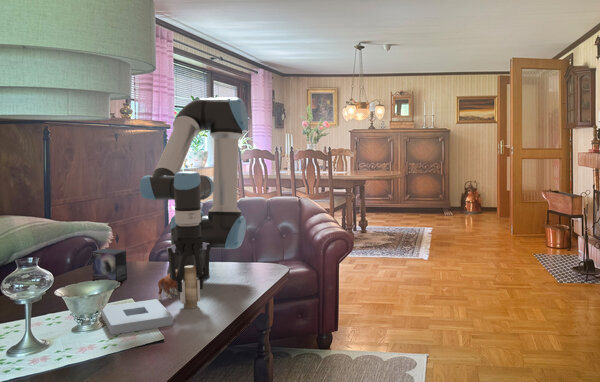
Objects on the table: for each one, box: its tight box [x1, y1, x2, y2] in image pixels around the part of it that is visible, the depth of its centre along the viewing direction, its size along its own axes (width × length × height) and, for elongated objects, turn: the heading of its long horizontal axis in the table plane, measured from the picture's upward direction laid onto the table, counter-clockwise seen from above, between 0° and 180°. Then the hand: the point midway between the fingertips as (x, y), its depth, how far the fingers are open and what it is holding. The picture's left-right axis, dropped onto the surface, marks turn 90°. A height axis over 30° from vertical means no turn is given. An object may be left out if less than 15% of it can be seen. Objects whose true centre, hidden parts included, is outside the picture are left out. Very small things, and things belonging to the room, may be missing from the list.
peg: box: [183, 266, 198, 309], centre depth 170 cm, size 4×4×12 cm
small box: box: [91, 247, 128, 282], centre depth 203 cm, size 11×6×10 cm, turn 68°
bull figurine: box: [157, 269, 179, 301], centre depth 182 cm, size 4×13×8 cm, turn 161°
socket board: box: [100, 298, 174, 336], centre depth 158 cm, size 18×16×2 cm
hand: (190, 301), depth 171 cm, fingers closed on peg, 4 cm apart
